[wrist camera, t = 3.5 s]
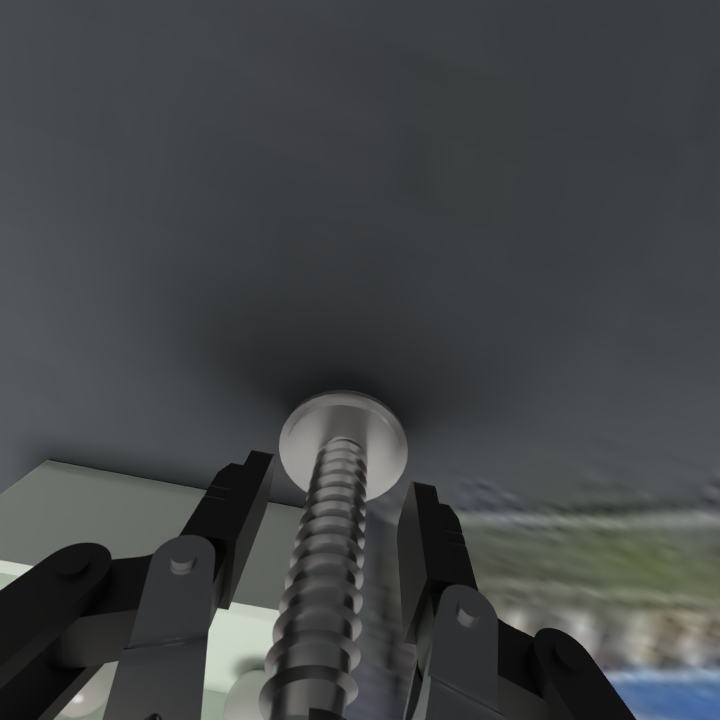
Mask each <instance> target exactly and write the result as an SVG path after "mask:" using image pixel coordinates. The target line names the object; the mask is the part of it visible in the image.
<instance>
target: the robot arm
mask: <svg viewBox="0 0 720 720" xmlns="http://www.w3.org/2000/svg"><path fill="white" fill-rule="evenodd" d="M274 462H275V455H274V454H269V453H264V452H259V451H254V450H252V451H251V452H250V454H249V456H248V458H247V460H246V462H245V464H244V465H239V464H234V463H231V464H229V465H228V466H226V467H225V468H223V469H222V470H221V471H219V472H218V473H217V475H216V476H215V478H214V480H213V481H212V483H211V485H210V487H209V488H208V489H207V491H206V493H205V495H204V497H203V498H202V499H201V501H200V502H199V504H198V506H197V507H196V509H195V510H194V512H193V514H192V515H191V517H190V519H189V520H188V522H187V523H186V525H185V527H184V528H183V530H182V531H181V533H180V535H179V536H178V537H175V538H173V539H171V540H169V541H167V542H165V543H164V544H162V545H161V546H160V547H159V548H158V549H157V550H156V551H155V553H153V554H150V555H146V556H141V557H132V558H122V559H112V557H111V553H110V551H109V550H108V549H107V548H106V547H105V546H103V545H101V544H97V543H90V542H86V543H77V544H73V545H70V546H67V547H64V548H62V549H60V550H58V551H56V552H54V553H53V554H51V555H49V556H48V557H47V558H45V559H44V560H42V561H41V562H40V563H38V564H37V565H35V566H34V567H32V568H31V569H30V570H28V571H27V572H25V573H24V574H23V575H21V576H20V577H18V578H17V579H16V580H14V581H13V582H11V583H10V584H8V585H7V586H6V587H4V588H3V589H1V590H0V720H54V718H55V717H56V716H57V715H58V714H59V713H60V712H61V711H62V710H63V709H64V708H65V706H66V705H67V704H68V703H69V702H70V701H71V700H72V699H73V698H74V697H75V696H76V695H77V693H78V692H79V691H80V690H81V689H82V688H83V687H84V686H85V685H86V684H87V683H88V681H89V680H90V679H91V678H92V677H93V676H94V675H95V674H96V673H97V672H98V671H99V670H100V668H101V667H102V666H103V665H104V664H105V663H111V662H116V661H118V665H117V668H116V672H115V675H114V679H113V683H112V686H111V690H110V694H109V697H108V701H107V705H106V708H105V712H104V716H103V719H102V720H201V712H202V700H203V689H204V678H205V667H206V655H207V644H208V632H209V628H210V626H211V624H212V621H213V619H214V616H215V614H216V611H217V609H218V608H219V609H225V610H229V607H230V605H231V602H232V599H233V597H234V594H235V591H236V589H237V586H238V583H239V581H240V578H241V575H242V573H243V570H244V567H245V565H246V562H247V559H248V557H249V554H250V551H251V549H252V546H253V543H254V541H255V538H256V535H257V533H258V530H259V527H260V525H261V522H262V519H263V517H264V514H265V511H266V508H267V504H268V500H269V495H270V489H271V482H272V476H273V469H274ZM397 543H398V559H399V574H400V590H401V605H402V621H403V636H404V643H410V644H415V645H416V648H417V660H416V663H415V665H414V668H413V672H412V677H411V682H410V687H409V692H408V696H407V701H406V706H405V711H404V716H403V720H636V719H635V717H634V716H633V714H632V713H631V712H630V710H629V709H628V707H627V706H626V705H625V703H624V702H623V700H622V699H621V698H620V696H619V695H618V693H617V692H616V691H615V689H614V688H613V686H612V685H611V684H610V682H609V681H608V679H607V678H606V677H605V675H604V674H603V672H602V671H601V670H600V668H599V667H598V666H597V664H596V663H595V661H594V660H593V659H592V657H591V656H590V654H589V653H588V652H587V651H586V649H585V648H584V647H583V646H582V645H581V644H580V643H579V642H577V641H576V640H575V639H574V638H572V637H571V636H570V635H568V634H566V633H564V632H562V631H560V630H557V629H553V628H544V629H541V630H539V631H538V632H537V633H536V635H535V637H532V636H530V635H528V634H526V633H524V632H522V631H520V630H518V629H516V628H514V627H512V626H510V625H508V624H506V623H504V622H503V621H501V620H500V619H499V618H497V615H496V612H495V610H494V608H493V606H492V605H491V603H490V602H489V601H488V600H487V599H486V598H485V597H484V596H483V595H482V594H481V593H480V592H478V588H477V585H476V581H475V577H474V574H473V570H472V566H471V563H470V559H469V555H468V552H467V548H466V547H465V540H464V537H463V535H462V529H461V526H460V522H459V518H458V517H457V516H456V514H455V513H454V512H453V510H452V509H451V508H450V506H449V505H445V504H439V501H438V497H437V492H436V488H435V486H432V485H427V484H422V483H417V482H411V484H410V486H409V489H408V492H407V495H406V499H405V502H404V505H403V509H402V512H401V515H400V519H399V524H398V531H397Z"/></svg>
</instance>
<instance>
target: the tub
mask: <svg viewBox="0 0 720 720" xmlns="http://www.w3.org/2000/svg"><path fill="white" fill-rule="evenodd" d="M206 491H207V490H203V489H198V488H193V487H187V486H182V485H177V484H172V483H166V482H161V481H156V480H151V479H145V478H140V477H135V476H130V475H124V474H119V473H114V472H109V471H103V470H98V469H93V468H88V467H82V466H77V465H72V464H67V463H61V462H56V461H51V460H46V461H45V462H43V463H42V464H41V465H39V466H38V467H37V468H35V469H34V470H33V471H31V472H30V473H29V474H27V475H26V476H25V477H23V478H22V479H20V480H19V481H18V482H16V483H15V484H14V485H12V486H11V487H10V488H8V489H7V490H6V491H4V492H3V493H2V494H0V590H1V589H3V588H4V587H6V586H7V585H8V584H10V583H11V582H13V581H14V580H16V579H17V578H18V577H20V576H21V575H23V574H24V573H25V572H27V571H28V570H30V569H31V568H32V567H34V566H35V565H37V564H38V563H40V562H41V561H42V560H44V559H45V558H47V557H48V556H49V555H51V554H53V553H54V552H56V551H58V550H60V549H62V548H64V547H67V546H70V545H73V544H77V543H86V542H90V543H97V544H101V545H103V546H105V547H106V548H107V549H108V550H109V551H110V553H111V557H112V559H122V558H132V557H141V556H146V555H150V554H153V553H155V551H156V550H157V549H158V548H159V547H160V546H161V545H162V544H164V543H165V542H167V541H169V540H171V539H173V538H175V537H178V536H179V535H180V533H181V531H182V530H183V528H184V527H185V525H186V523H187V522H188V520H189V519H190V517H191V515H192V514H193V512H194V510H195V509H196V507H197V506H198V504H199V502H200V501H201V499H202V498H203V497H204V495H205V493H206ZM302 516H303V508H298V507H293V506H287V505H282V504H277V503H272V502H268V504H267V508H266V511H265V514H264V517H263V519H262V522H261V525H260V527H259V530H258V533H257V535H256V538H255V541H254V543H253V546H252V549H251V551H250V554H249V557H248V559H247V562H246V565H245V567H244V570H243V573H242V575H241V578H240V581H239V583H238V586H237V589H236V591H235V594H234V597H233V599H232V602H231V605H230V607H229V610H225V609H219V608H218V609H217V611H216V614H215V616H214V619H213V621H212V624H211V626H210V628H209V632H208V644H207V655H206V667H205V678H204V689H203V700H202V712H201V720H223V710H224V704H225V700H226V697H227V695H228V693H229V691H230V689H231V687H232V686H233V684H234V683H235V682H236V680H237V679H239V678H240V677H241V676H242V675H244V674H245V673H247V672H249V671H252V670H265V658H266V656H267V653H268V651H269V650H270V648H271V647H272V646H273V645H274V644H273V639H272V631H273V627H274V624H275V622H276V620H277V619H278V618H279V616H280V614H279V603H280V600H281V597H282V595H283V593H284V592H285V579H286V576H287V573H288V572H289V570H290V559H291V555H292V553H293V551H294V550H295V539H296V536H297V534H298V532H299V523H300V520H301V518H302ZM107 701H108V700H107ZM107 701H106V702H105V703H104V704H103V705H102V706H101V707H100V708H98V709H97V710H95V711H94V712H92V713H90V714H88V715H85V716H82V717H77V718H70V717H65V716H63V715H61V714H60V713H59V714H58V715H57V716H56V717H55V718H54V720H102V719H103V716H104V712H105V708H106V705H107Z"/></svg>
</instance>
